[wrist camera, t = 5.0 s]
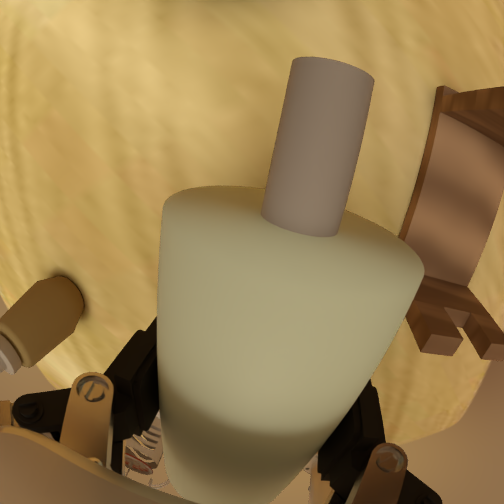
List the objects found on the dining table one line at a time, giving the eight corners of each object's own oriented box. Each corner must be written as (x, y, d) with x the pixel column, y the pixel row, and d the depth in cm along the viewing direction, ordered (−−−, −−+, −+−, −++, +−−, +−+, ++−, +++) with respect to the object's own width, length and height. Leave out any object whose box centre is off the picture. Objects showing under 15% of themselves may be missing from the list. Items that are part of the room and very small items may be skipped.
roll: (276, 454, 15) (263, 534, 10) (184, 432, 16) (153, 508, 10) (410, 120, 8) (535, 114, 2) (229, 75, 8) (133, 4, 3)
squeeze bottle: (57, 313, 36) (-19, 389, 19) (43, 264, 32) (-50, 335, 16) (97, 325, 35) (18, 418, 18) (83, 272, 31) (-19, 362, 15)
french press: (125, 395, 40) (57, 514, 18) (191, 421, 40) (139, 555, 17) (129, 422, 44) (75, 524, 22) (186, 445, 44) (144, 556, 21)
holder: (451, 300, 25) (495, 370, 15) (380, 283, 26) (413, 363, 16) (507, 127, 17) (585, 140, 7) (437, 87, 18) (512, 70, 8)
